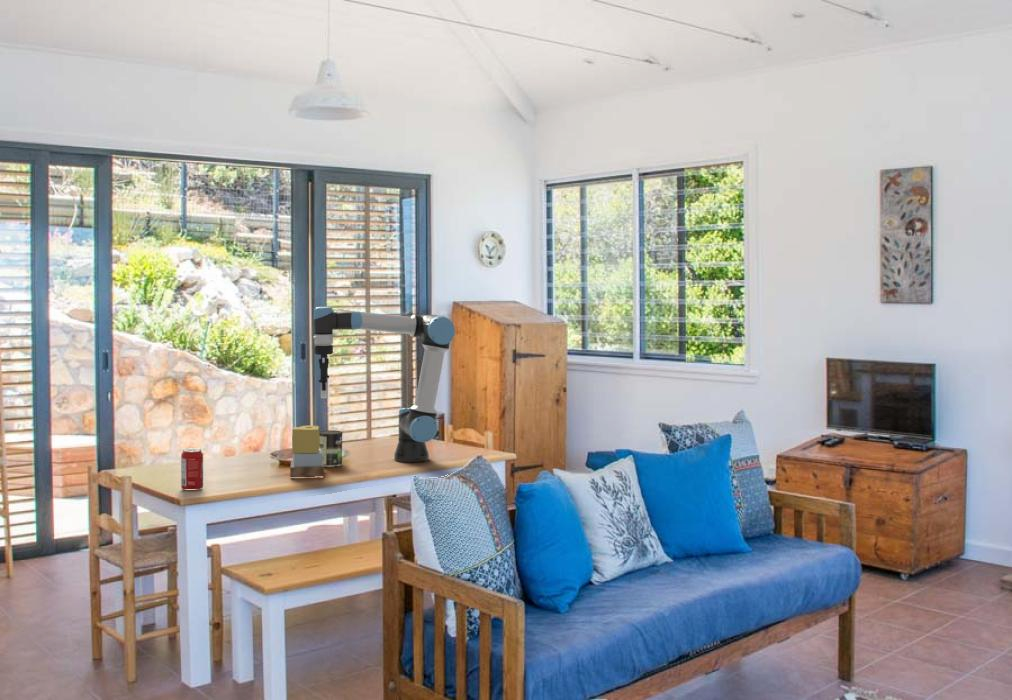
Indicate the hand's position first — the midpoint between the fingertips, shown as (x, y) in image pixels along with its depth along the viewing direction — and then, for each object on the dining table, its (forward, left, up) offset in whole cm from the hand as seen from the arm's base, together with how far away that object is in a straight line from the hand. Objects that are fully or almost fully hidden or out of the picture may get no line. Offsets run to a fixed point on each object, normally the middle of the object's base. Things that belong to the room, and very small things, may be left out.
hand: (324, 396), depth 418 cm
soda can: (+47, +35, -31) cm, 66 cm away
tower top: (+6, +9, -26) cm, 29 cm away
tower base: (+6, +10, -31) cm, 33 cm away
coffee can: (-2, -11, -31) cm, 33 cm away
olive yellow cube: (+7, +10, -22) cm, 25 cm away
